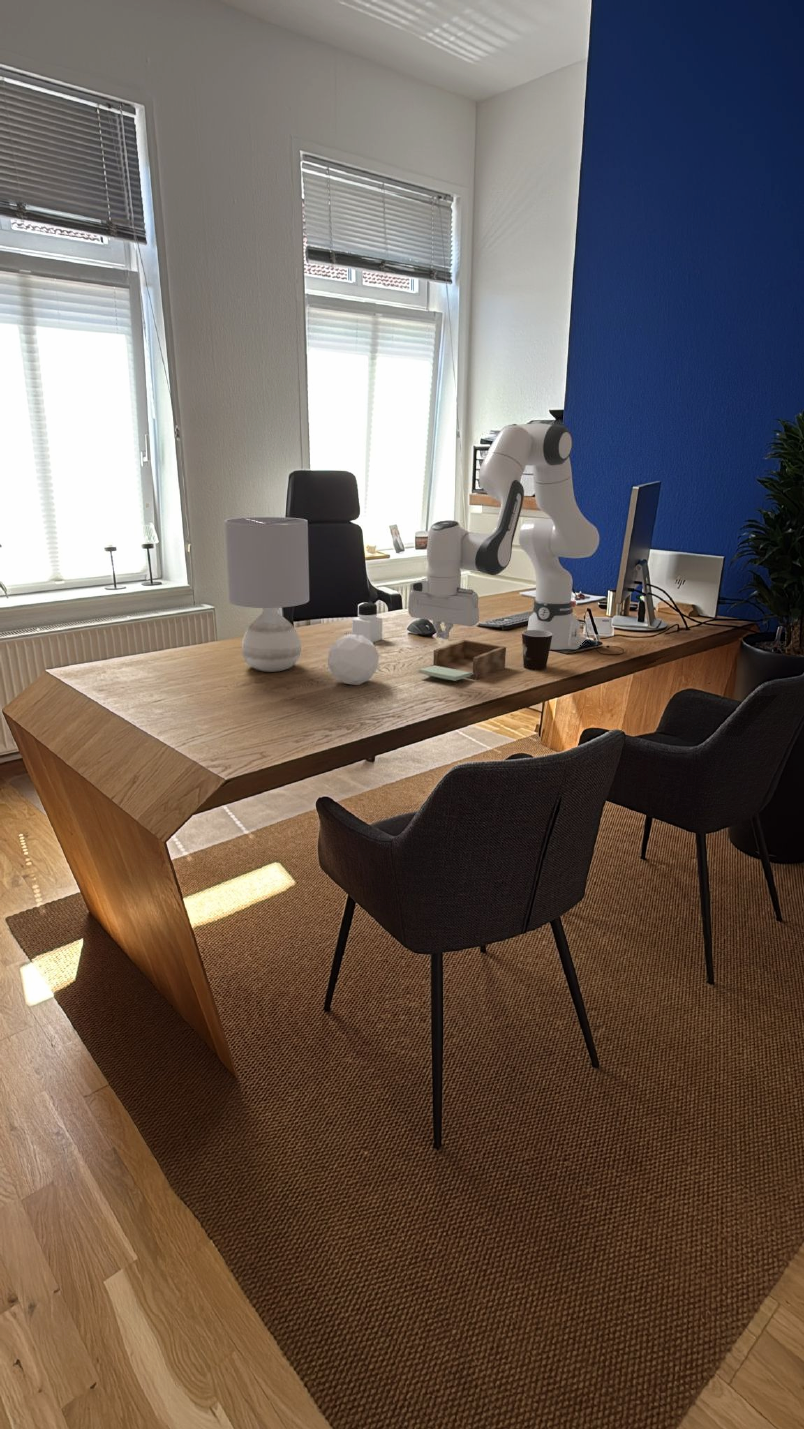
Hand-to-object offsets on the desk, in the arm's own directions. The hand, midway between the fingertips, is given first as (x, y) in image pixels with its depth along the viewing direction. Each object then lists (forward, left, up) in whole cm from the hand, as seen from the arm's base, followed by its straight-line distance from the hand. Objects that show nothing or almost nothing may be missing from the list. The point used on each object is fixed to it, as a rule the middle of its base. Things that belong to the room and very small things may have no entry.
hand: (442, 638), depth 207 cm
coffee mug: (-29, +13, -12) cm, 34 cm away
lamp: (+20, -44, -12) cm, 50 cm away
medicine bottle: (-23, -44, -12) cm, 51 cm away
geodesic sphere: (+17, -17, -12) cm, 27 cm away
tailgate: (-6, 0, -10) cm, 12 cm away
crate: (-14, 0, -12) cm, 19 cm away
